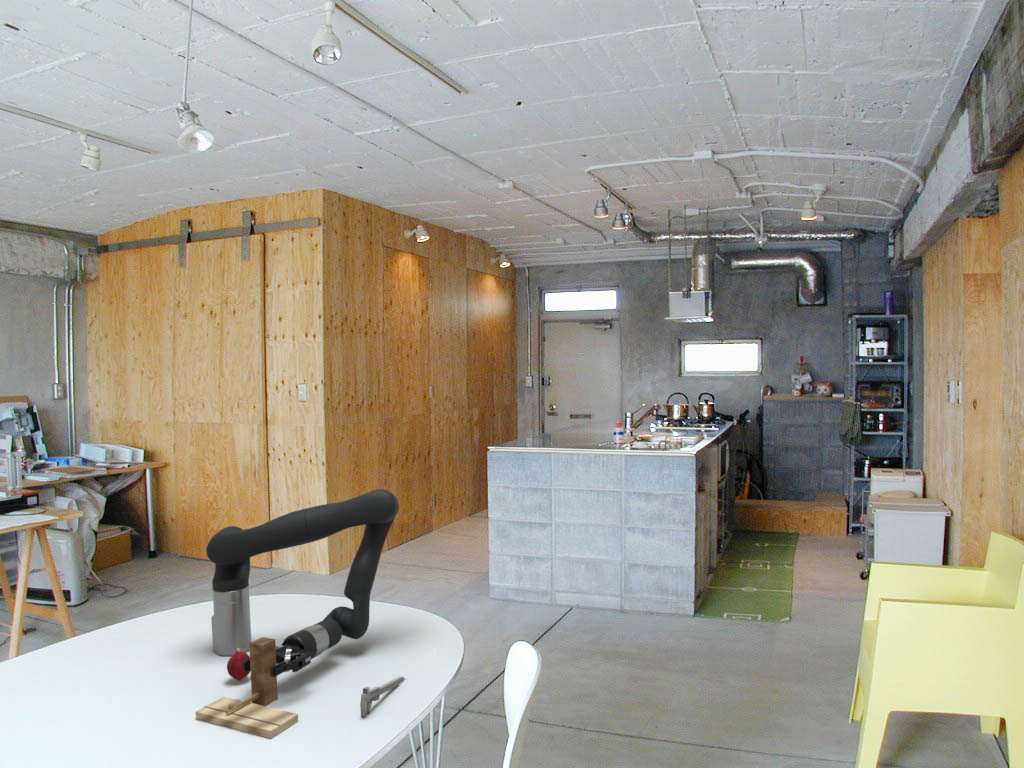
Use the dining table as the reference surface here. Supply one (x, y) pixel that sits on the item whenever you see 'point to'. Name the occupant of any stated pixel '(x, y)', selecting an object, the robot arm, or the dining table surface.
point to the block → (260, 674)
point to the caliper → (376, 694)
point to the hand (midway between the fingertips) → (257, 670)
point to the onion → (237, 665)
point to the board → (248, 717)
